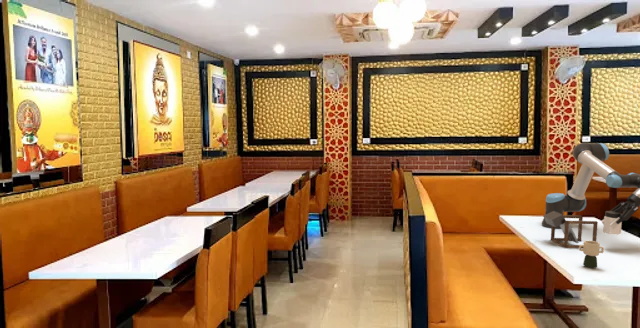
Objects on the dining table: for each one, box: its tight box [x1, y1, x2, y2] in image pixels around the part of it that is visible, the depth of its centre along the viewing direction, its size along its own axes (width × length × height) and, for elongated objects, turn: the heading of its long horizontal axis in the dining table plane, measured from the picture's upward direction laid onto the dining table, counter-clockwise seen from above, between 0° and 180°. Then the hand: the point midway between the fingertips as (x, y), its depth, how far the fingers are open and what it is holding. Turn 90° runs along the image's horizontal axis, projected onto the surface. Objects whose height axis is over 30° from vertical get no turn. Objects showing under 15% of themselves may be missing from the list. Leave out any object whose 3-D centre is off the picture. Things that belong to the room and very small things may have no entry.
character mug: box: [578, 240, 605, 269], centre depth 239 cm, size 11×7×13 cm, turn 68°
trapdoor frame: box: [550, 214, 599, 249], centre depth 284 cm, size 18×18×16 cm
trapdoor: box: [542, 211, 580, 244], centre depth 284 cm, size 14×19×8 cm
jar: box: [602, 210, 623, 236], centre depth 271 cm, size 9×8×12 cm
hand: (607, 225), depth 271 cm, fingers closed on jar, 8 cm apart
